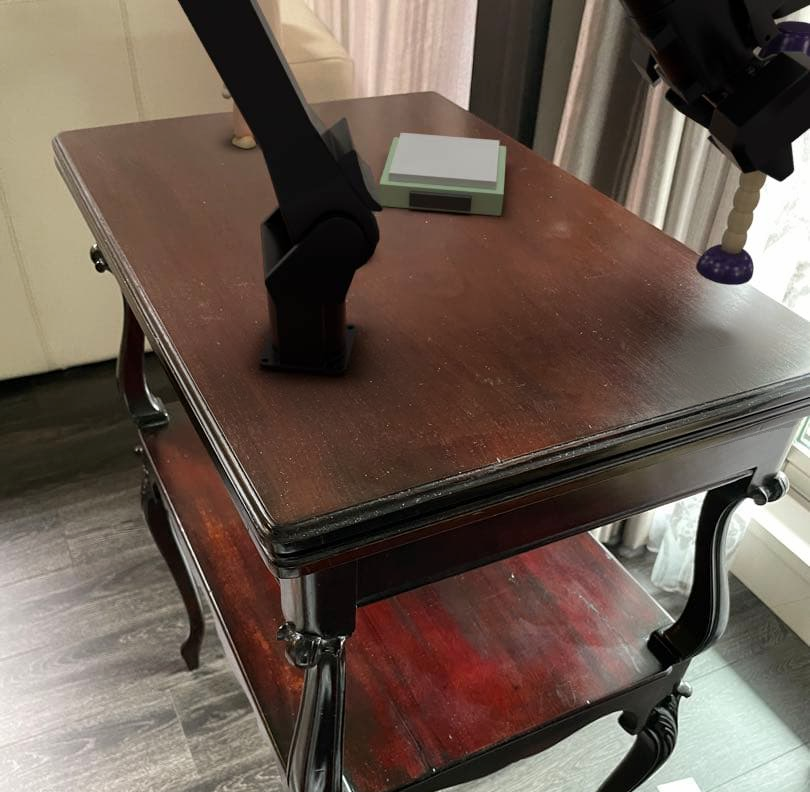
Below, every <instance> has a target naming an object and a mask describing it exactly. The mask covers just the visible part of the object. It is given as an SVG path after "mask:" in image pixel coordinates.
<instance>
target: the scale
mask: <svg viewBox="0 0 810 792" xmlns="http://www.w3.org/2000/svg"><path fill="white" fill-rule="evenodd" d="M500 143H501V142H500V140H498V139H485V138H484V139H483V138H473V137H472V138H471V137H459V136H447V135H436V134H435V135H434V134H422V133H411V132H410V133H408V132H400V133H399V137H396V136H395V137H393V139H392V142H391V144H390V148H389V152H388V155H387V158H386V161H385V165H384V167H383V171H382V174H381V177H380V181H379V184H378V185H379V186H378V194H379V198H380V201H381V204H382V207H391V208H399V209H401V208H402V209H413V210H425V211H426V210H427V211H436V212H437V211H438V212H451V213H460V214H461V213H463V214H473V215H484V216H495V217H496V216H497V217H501V216H502V211H503V203H504V195H505V181H506V180H505V179H506V177H505V176H506V159H507V146H506V145H500Z"/></svg>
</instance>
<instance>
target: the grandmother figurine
mask: <svg viewBox="0 0 810 792" xmlns="http://www.w3.org/2000/svg"><path fill="white" fill-rule="evenodd" d="M222 83H223V86H222V87H223V89H222V90H221V97H222V98H223V99H225V100H230V99H231V98H232V97H231V95H230V93H229V91H228V89H227V88H226V86H225V84H224V82H222ZM232 123H233V134H234V135H235V137H233V139H232V145H234V146H236V147H238V148H240V149H244V150H245V149H253V148H255V147H256V146H257V141H256V140H255V138H254V136H253V134H252V132H251V131H250V129H249V127H248V125H247V123H246V122H245V120H244V118H243V116H242V115H241V113H240V111H239V109H238V107H237V106H236V104H235V102H234V101H233V102H232Z"/></svg>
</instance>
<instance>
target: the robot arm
mask: <svg viewBox="0 0 810 792" xmlns="http://www.w3.org/2000/svg"><path fill="white" fill-rule="evenodd" d="M177 2H178V3H179V5H180V7H181V9H182V11H183V13H184V15H185V16H186V18H187V20H188V21H189V22H188V23H190V26H191V27H192V28H193V31H194V33H195V34H196V36H197V38H198V40H199V41H200V43H201V45H202V47H203V48H204V50H205V53H206V54H207V56H208V57H209V59H210V61H211V62H212V65H213V66H214V68H215V70H216V72H217V74H218V75H219V77H220V79H221V81H222V83H224V84H225V86H226V88H227V89H228V91H229V93H230V95H231V98H232V100H233V102H235V104H236V106H237V107H238V109H239V111H240V113H241V115H242V116H243V118H244V120H245V122H246V123H247V125H248V127H249V129H250V131H251V132H252V134H253V136H254V138H255V140H256V141H255V142H256V144H257V146H259V149H260V150H261V154H262V156H263V159H264V161H265V165H266V168H267V172H268V174H269V178H270V181H271V184H272V188H273V190H274V194H275V198H276V200H277V203H278V204H277V205H276V206H275V207H274V208H273V210H271V212H269V214H268V215H267V216H266V217H265V218H264V219H263V220H262V221H261V222H260V227H259V228H260V237H261V238H260V240H261V253H262V254H261V255H262V265H263V266H262V268H263V269H262V270H263V281H264V286H265V290H266V301H267V311H268V322H269V323H268V324H269V334H268V336H267V338H266V341H265V343H264V346H263V348H262V351H261V353H260V356H259V358H258V367H259V368H260V369H262V370H263V369H264V370H271V371H282V372H293V373H302V374H315V375H323V376H335V377H340V376H341V377H342V376H344V375H346V373H347V369H348V366H349V362H350V360H351V359H350V358H351V356H352V355H351V354H352V352H353V347H354V344H355V340H356V337H357V331H358V330H357V329H358V327H357V326H356V325H355V324H351V323H347V295H348V293H349V290H350V287H351V285H352V282H353V279H354V277H355V275H356V272H357V270H359V269H361V268H362V267H363V266H365V265H366V264H367V263H368V262H369V260H370V259H371V258H372V257H373V256H374V254H375V252H376V249H377V246H378V243H379V242H380V239H381V238H380V237H381V235H380V227H379V223H378V220H377V217H376V212H378V213H380V212H383V210H384V208H383V206H382V204H381V201H380V198H379V190H378V188H377V184H376V182H375V178H374V174H373V172H372V168H371V166H370V165H369V164H368V163H367V162H366V161H365V160H364V159H362V157H361V155H360V154H359V152H358V151H357V149H356V145H355V142H354V139H353V136H352V133H351V129H350V126H349V121H348V118H347V117H344V116H343V117H342V118H341V119H339V120H338V121H337V122H336V123H334V124H333V125H332V126H331V127H328V126H327V124H326V123H325V122H324V121H323V120H322V119H321V118H320V117H319V116H318V114H317V113H316V112H315V111H314V109H313V108H312V107H311V105H310V104H309V102H308V101H307V98H306V97H305V95H304V93H303V91H302V89H301V87H300V84H299V83H298V81H297V78H296V76H295V74H294V72H293V71H292V69H291V67H290V65H289V63H288V61H287V58H286V56H285V55H284V52H283V50H282V48H281V46H280V44H279V42H278V39H277V38H276V36H275V34H274V32H273V30H272V28H271V26H270V24H269V22H268V20H267V18H266V16H265V14H264V12H263V10H262V8H261V6H260V4H259V2H258V0H177ZM618 2H619V3H620V5H621V7H622V8H623V10H624V11H625V13H626V15H625V16H624V17H623V19H624V21H625V23H626V24H627V26H628V28H629V29H630V31H631V32H632V33H633V34H635V35H634V36H633V40H632V46H631V50H630V55H629V58H630V59H631V61H632V62H633V64H634V66H635V67H636V69H637V71H638V72H639V73H640V75H641V77H642V78H643V79H644V80H645V81H647V83H648V84H650V85H651V86H652V87H653V88H654V89H656V87H657V86H658V85H660V84H661V83H662V81H663V82H664V84H665V85H666V86H668V87H669V88H668V89H667V90H666V92H665V93H664V99H665V100H666V101H667V102H668V103H669V104H670V105H671V106H672V107H673V108H674V109H675V110H676V111H678V113H680V114H682V115H684V117H687V118H688V119H690V120H691V121H693V122H695V123H696V124H698V125H700V126H701V127H703V128H704V129H706V130H707V131H708V132H709V134H710V135H709V136H708V137H706V139H707V140H708V141H709V142H710V143H711V144H712V145H713V146H714V147H715V148H716V149H717V150H718V151H719V152H720V153H721V154H722V155H724V156H725V157H726V158H727V159H728V160H729V161H730V162H731V163H732V164H733V165H734V166H735V167H736V168H737V169H738V170H739V171H740V172H741V171H742V172H743V173H744V174H747V173H751V172H755V171H760V172H762V173H764V174H766V175H767V177H769V178H771V179H773V180H775V181H777V182H779V183H781V182H784V181H785V180H786V179H787V178H789V177H790V176H791V175H793V173H794V172H795V162H794V153H793V152H794V151H793V143H794V142H796V141H797V140H798V139H799V138H800V137H802V135H804V134H805V133H807V131H809V130H810V57H809V56H808V55H806V54H805V53H803V52H794V51H781V52H780V53H779V54H773V55H770V56H768V57H767V58H765V59H761V58H760V57H758V54H756V53H754V51H755V50H756V49H757V48H759V49H762V48H763V47H764V46H765V45H767V44H768V43H769V42H770V41H771V40H772V39H773V38H775V37H776V36H777V35H778V34H779V33H780V32H779V30H778V28H777V25H776V24H777V23H776V22H775V20H779V19H783V18H786V17H787V16H790V15H793V14H794V13H797V12H798V11H800V10H802V9H804V8H807V7H808V6H810V0H618Z"/></svg>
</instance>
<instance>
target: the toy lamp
mask: <svg viewBox="0 0 810 792" xmlns="http://www.w3.org/2000/svg"><path fill="white" fill-rule="evenodd" d="M776 25H777V28H778V30H779V32H780V33H779V34H778V35H777V36H776V37H775V38H773V39H772V40H771V41H770V42H769V43H768V44H767V45H765V46H764V47H763V48H760V50H759V52H758V54H757V56H758V57H760V58H761V59H765V58H767V57H768V56H770V55H773V54H779V53H780V52H781V51H794V52H803V53H805V54H806V55H808V56H809V57H810V22H806V21H797V20H784V21H780V22H778V23H776ZM767 177H768V176H767V175H766V174H764V173H762V172H760V171H755V172H751V173H747V174H744V173H743V172H742V171H740V174H739V178H738V179H739V180H738V185H739V187H738V188H737V189H736V190H735V192H734V195H733V198H732V208H731V210H730V212H729V213H728V215H727V220H726V226H727V228H726V229H725V230H724V232H723V234H722V236H721V243H719V244H716V245H713V246H711V247H709V248H708V249H706V250H705V251H704V252H702V254H701V255H700V257H699V258H698V260H697V262H696V265H695V269H696V271H697V273H698V274H699V275H700V276H701V277H703V278H705V280H709V281H711V282H713V283H715V284H716V283H717V284H720V285H727V286H738V285H740V286H741V285H743V284H746V283H749V282H750V281H751V280H752V278H753V276H754V268H755V267H754V261H753V258H752V256H751V255H750V254H749V252H748V251H747V250H746V249H744V248H745V246H746V244H747V240H748V231H749V230H750V229H751V227H752V224H753V221H754V216H755V215H754V211H755V210H756V209H757V207H758V205H759V203H760V200H761V190H762V188H763V187H764V185H765V183H766V181H767Z"/></svg>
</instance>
